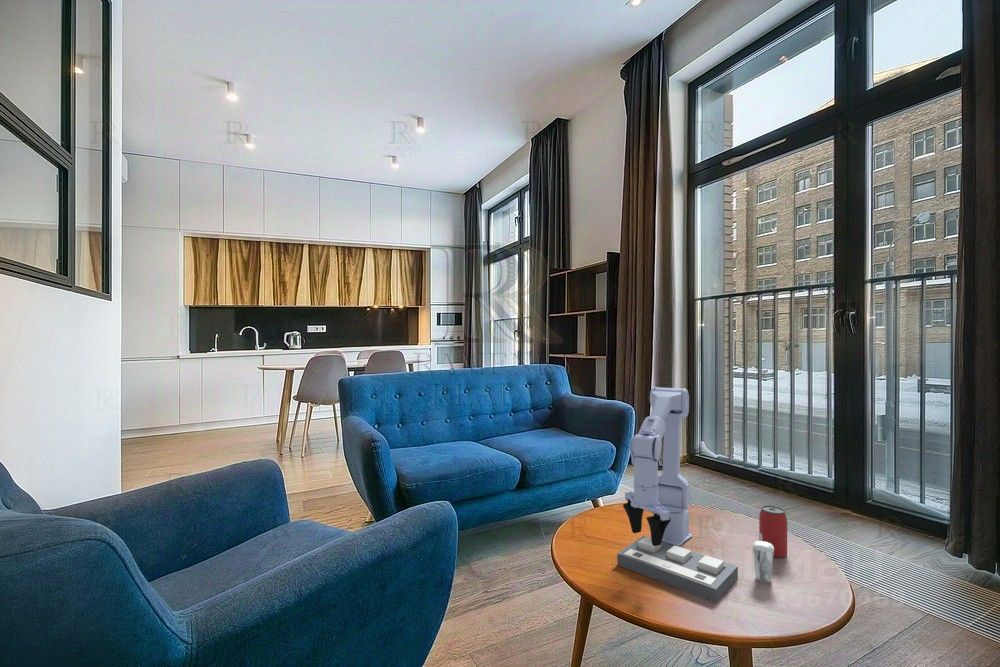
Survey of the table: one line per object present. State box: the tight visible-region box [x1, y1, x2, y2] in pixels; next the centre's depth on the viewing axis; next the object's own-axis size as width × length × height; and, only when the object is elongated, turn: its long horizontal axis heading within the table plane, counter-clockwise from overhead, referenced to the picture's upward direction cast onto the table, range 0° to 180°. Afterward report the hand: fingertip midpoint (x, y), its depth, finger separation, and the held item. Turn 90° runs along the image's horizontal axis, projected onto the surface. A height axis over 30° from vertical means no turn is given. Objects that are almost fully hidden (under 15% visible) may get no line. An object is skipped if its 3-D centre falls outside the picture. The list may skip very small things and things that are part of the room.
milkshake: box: [752, 533, 774, 584], centre depth 118 cm, size 4×5×10 cm
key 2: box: [698, 554, 725, 575], centre depth 118 cm, size 4×4×3 cm
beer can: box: [758, 504, 788, 559], centre depth 131 cm, size 7×7×12 cm
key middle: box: [667, 545, 692, 564], centre depth 123 cm, size 4×4×3 cm
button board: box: [616, 535, 739, 603], centre depth 122 cm, size 14×25×3 cm, turn 46°
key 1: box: [638, 536, 662, 554], centre depth 129 cm, size 4×4×3 cm
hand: (646, 538), depth 120 cm, fingers open, 7 cm apart
